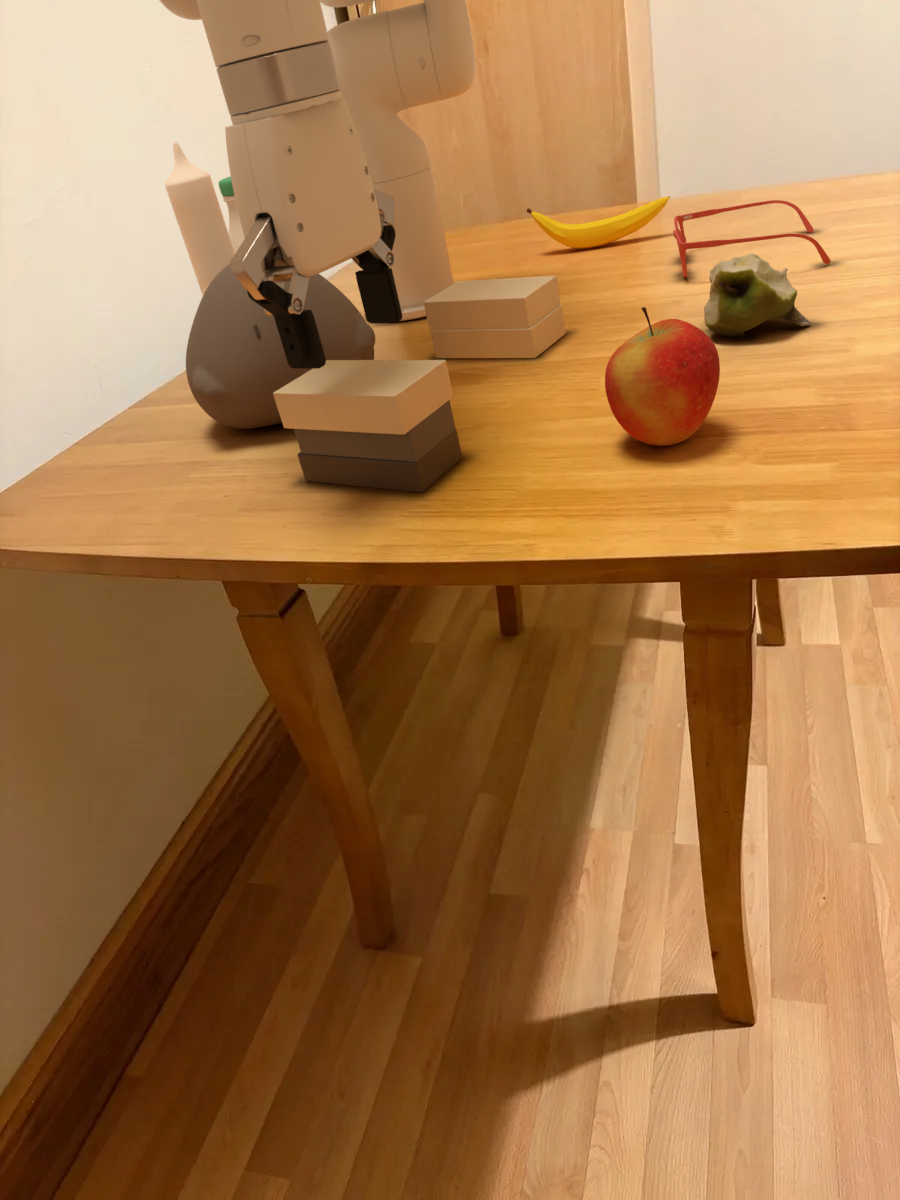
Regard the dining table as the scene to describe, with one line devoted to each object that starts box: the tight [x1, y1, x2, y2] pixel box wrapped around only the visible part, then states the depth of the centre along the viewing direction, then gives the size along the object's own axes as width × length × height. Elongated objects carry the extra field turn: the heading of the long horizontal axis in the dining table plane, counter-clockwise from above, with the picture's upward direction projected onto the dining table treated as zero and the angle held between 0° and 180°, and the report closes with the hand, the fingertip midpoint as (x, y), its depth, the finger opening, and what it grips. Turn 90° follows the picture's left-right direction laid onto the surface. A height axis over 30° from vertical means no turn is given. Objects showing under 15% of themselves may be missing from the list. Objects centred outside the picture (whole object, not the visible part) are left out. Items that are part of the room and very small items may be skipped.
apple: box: [604, 306, 721, 447], centre depth 65 cm, size 8×8×10 cm
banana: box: [526, 195, 671, 250], centre depth 121 cm, size 3×19×6 cm, turn 76°
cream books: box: [424, 275, 566, 359], centre depth 93 cm, size 12×7×6 cm, turn 58°
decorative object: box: [185, 264, 376, 430], centre depth 87 cm, size 18×18×15 cm
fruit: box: [703, 253, 812, 338], centre depth 82 cm, size 9×9×8 cm
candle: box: [164, 141, 235, 296], centre depth 93 cm, size 7×7×25 cm
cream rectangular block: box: [273, 359, 454, 435], centre depth 70 cm, size 12×7×3 cm, turn 58°
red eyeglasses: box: [672, 199, 832, 278], centre depth 102 cm, size 17×16×5 cm
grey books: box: [293, 399, 463, 493], centre depth 72 cm, size 12×6×5 cm, turn 58°
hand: (348, 343), depth 68 cm, fingers open, 9 cm apart
